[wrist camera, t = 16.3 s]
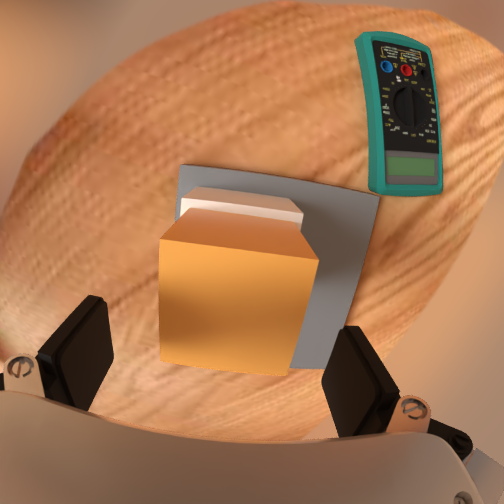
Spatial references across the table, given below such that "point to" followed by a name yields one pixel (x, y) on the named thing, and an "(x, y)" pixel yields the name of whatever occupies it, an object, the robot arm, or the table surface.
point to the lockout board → (312, 228)
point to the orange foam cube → (233, 291)
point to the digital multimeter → (401, 115)
